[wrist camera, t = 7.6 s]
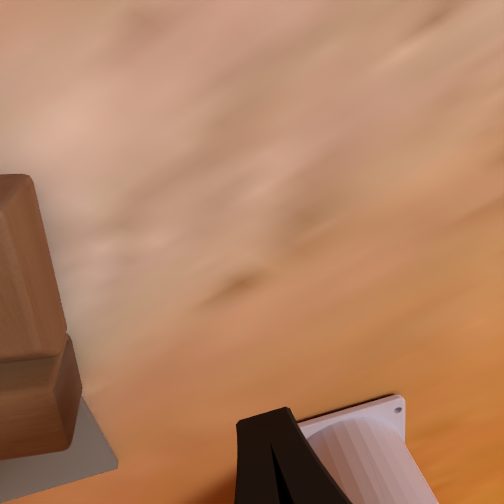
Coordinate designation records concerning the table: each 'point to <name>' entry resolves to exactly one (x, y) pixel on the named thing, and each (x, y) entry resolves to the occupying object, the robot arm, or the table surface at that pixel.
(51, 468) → the mat
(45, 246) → the wooden block
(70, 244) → the table surface
